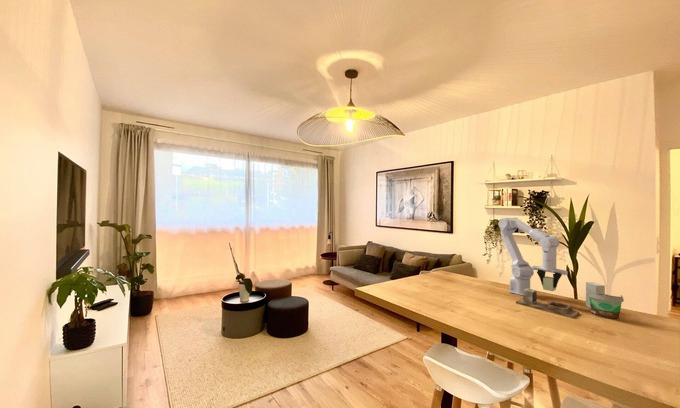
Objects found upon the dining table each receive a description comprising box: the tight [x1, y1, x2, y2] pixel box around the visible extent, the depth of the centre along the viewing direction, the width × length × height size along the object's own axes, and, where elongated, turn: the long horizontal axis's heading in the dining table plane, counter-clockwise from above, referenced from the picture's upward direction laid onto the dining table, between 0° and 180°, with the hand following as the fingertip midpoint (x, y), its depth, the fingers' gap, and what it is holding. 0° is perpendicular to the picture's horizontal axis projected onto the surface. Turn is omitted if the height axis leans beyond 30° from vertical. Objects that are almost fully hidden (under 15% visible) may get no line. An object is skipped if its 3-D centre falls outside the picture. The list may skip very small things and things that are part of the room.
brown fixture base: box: [515, 288, 580, 319], centre depth 134 cm, size 23×9×7 cm, turn 36°
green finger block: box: [542, 275, 557, 292], centre depth 142 cm, size 4×5×6 cm
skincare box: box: [585, 281, 606, 309], centre depth 135 cm, size 6×4×12 cm
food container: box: [587, 292, 625, 320], centre depth 124 cm, size 12×6×10 cm, turn 62°
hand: (549, 286), depth 142 cm, fingers closed on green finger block, 4 cm apart
